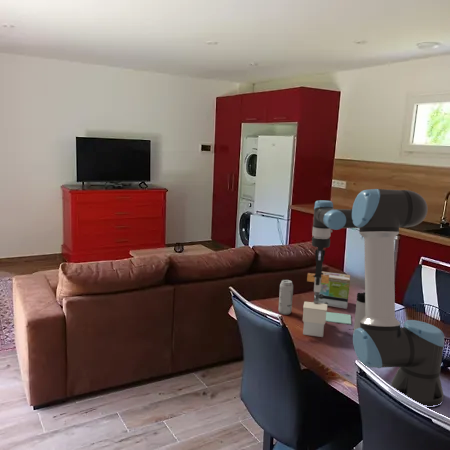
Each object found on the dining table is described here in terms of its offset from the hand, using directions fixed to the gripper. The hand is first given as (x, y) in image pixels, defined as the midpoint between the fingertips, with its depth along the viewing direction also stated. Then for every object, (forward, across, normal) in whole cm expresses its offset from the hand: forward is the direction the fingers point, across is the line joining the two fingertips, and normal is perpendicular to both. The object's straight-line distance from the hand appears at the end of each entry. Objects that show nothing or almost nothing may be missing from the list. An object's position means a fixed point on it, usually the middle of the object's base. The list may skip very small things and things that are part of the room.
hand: (317, 290), depth 193 cm
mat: (+15, +10, -10) cm, 20 cm away
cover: (+9, -11, 0) cm, 14 cm away
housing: (+15, -6, 0) cm, 16 cm away
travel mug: (+15, -12, -19) cm, 27 cm away
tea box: (+15, +28, -7) cm, 33 cm away
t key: (+9, -4, 0) cm, 10 cm away
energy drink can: (+15, +8, +14) cm, 22 cm away
